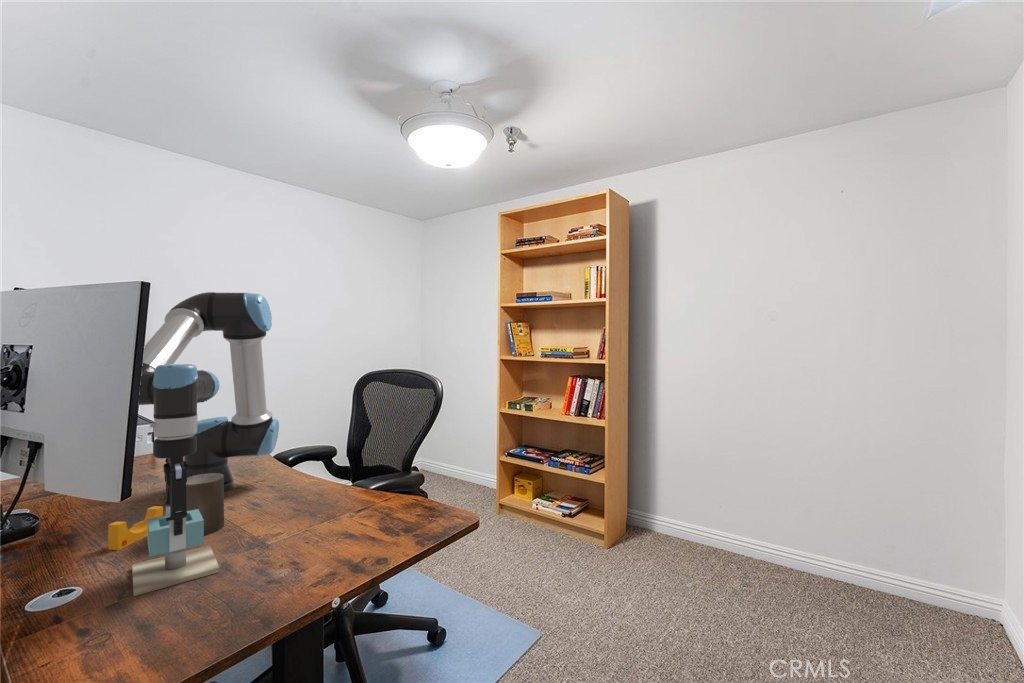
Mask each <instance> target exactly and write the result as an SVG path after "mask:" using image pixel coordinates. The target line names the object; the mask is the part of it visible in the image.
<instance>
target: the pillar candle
mask: <svg viewBox="0 0 1024 683" xmlns="http://www.w3.org/2000/svg"><path fill="white" fill-rule="evenodd" d="M224 495H225V492H224V475H223V474H218V473H209V474H201V475H196V476H191V477H188V478H187V483H186V505H187V511H191V510H196V509H199V511H200V514H201V516H202V518H203V520H204V537H205V536H208V535H211V534H213V533H214V534H215V533H216V532H218V531H219V530H222V529H223V528H224V527H225V526H224V525H225V496H224ZM181 512H182V511H181Z"/></svg>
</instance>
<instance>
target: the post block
mask: <svg viewBox="0 0 1024 683" xmlns="http://www.w3.org/2000/svg"><path fill="white" fill-rule="evenodd" d="M131 566H132V570H131V571H132V591H133V592H132V593H133V597H137V596H140V595H144V594H146V593H151V592H154V591H158V590H161V589H164V588H169V587H171V586H176V585H178V584H183V583H186V582H189V581H192V580H196V579H200V578H203V577H207V576H210V575H211V576H212V575H214V574H218V573H220V569H221V567H220V565H219V563H218V561H217V559H216V556H215V553H214V551H213V549H212V547H211V544H210V545H206V546H202V547H197V548H193V549H190V550H187V548H185V549H181V550H177V551H172V552H168V553H164V556H161V557H158V558H154V559H153V558H152V559H148V560H145V561H140V562H136V563H132V565H131Z"/></svg>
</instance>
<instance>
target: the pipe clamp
mask: <svg viewBox="0 0 1024 683" xmlns="http://www.w3.org/2000/svg"><path fill="white" fill-rule="evenodd" d="M160 516H164V506H162V505H161V506H160V505H159V506H156V505H155V506H154V505H153V506H151V507H148V508H147V509H146V514H145V517H144V520H141V521H138V522H136V523H134V524H133V526H131V527H130V528H128V525H127V521H114V522H112V523H108V525H107V527H108V529H107V530H108V531H107V532H108V536H107V537H108V539H107V540H108V542H107V544H108V545H107V547H108V550H111V551H120V550H121V549H123V548H125V547H128V546H130V545H133V544H134V543H136V542H137V541H140V540H142V539H144V538H146V537H147V536H148V519H150V518H155V517H160Z"/></svg>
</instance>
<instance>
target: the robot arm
mask: <svg viewBox="0 0 1024 683" xmlns="http://www.w3.org/2000/svg"><path fill="white" fill-rule="evenodd" d="M272 321H273V318H272V310H271V307H270V303H269V301H268V300H267V298H266V297H265V296H264V295H262V294H260V293H250V292H212V291H211V292H210V291H209V292H208V291H207V292H202V293H199V294H195V295H192V296H190V297H187V298H186V299H183V300H182V301H181V302H178V303H177V304H176V305H174V306H173V307H172V308H171V309H170V310H169V311H168V312H167V314H166V315H165V316H164V323H163V324H162V325H161V326H160V328H159V329H158V330H157V331H156V332H154V334H153V335H152V337H151V338H150V339H149V340H148V341H147V342H146V344H145V345H144V346H145V348H144V357H143V366H142V376H141V385H140V395H139V405H138V406H143V405H144V406H145V405H146V406H147V405H148V406H149V405H150V406H151V405H153V422H151V423H150V424H149V428H153V437H154V438H155V439H154V440H153V443H152V444H153V445H152V446H153V449H152V450H153V452H152V453H153V454H152V455H153V457H154V458H157V459H165V463H163V467H162V468H163V473H164V482H165V496H164V499H165V505H166V506H165V515H170V517H167V518H166V521H169V552H172V551H177V550H181V549H185V548H186V517H187V505H186V483H187V478H188V477H191V476H196V475H201V474H209V473H218V474H223V475H224V493H225V492H227V491H229V490H231V489H233V488H234V486H235V480H234V478H233V475H232V472H231V470H230V467H229V463H228V461H229V459H228V458H242V457H244V458H246V457H259V456H260V457H261V456H267V455H270V454H271V453H273V452H274V450H275V448H276V445H277V442H278V438H279V431H280V422H279V419H276V418H273V413H272V411H270V410H268V409H267V400H266V389H265V388H266V387H265V373H264V359H263V347H262V340H263V339H265V337H267V332H269V331H270V330H271V328H272V325H273V324H272ZM206 331H208V332H209V331H212V332H213V331H215V332H218V331H220V332H221V331H222V336H223V339H224V340H226V341H227V342H228V343H229V348H230V359H231V360H230V361H231V370H232V379H233V380H232V381H233V382H232V383H233V393H234V402H235V414H234V415H233V416H232V417H231V421H230V420H229V418H228V417H227V416H217V417H210V418H206V419H201V420H198V404H199V403H200V404H201V403H205V402H207V401H209V400H210V399H212V398H214V397H215V396H216V395H217V394H218V392H219V390H220V381H219V378H218V377H217V375H216V374H214V373H212V372H211V371H209V370H202V369H200V370H199V369H198V368H197V366H196V365H195V364H187V363H185V364H184V363H183V364H182V363H181V364H179V363H178V364H175V362H176V361H177V360H178V358H180V356H181V355H182V353H183V352H184V350H185V349H186V348H187V346H189V344H190V342H191V341H192V340H193V338H196V337H198V336H200V335H201V334H202V333H203V332H206ZM181 511H182V512H181ZM186 549H187V548H186Z"/></svg>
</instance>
